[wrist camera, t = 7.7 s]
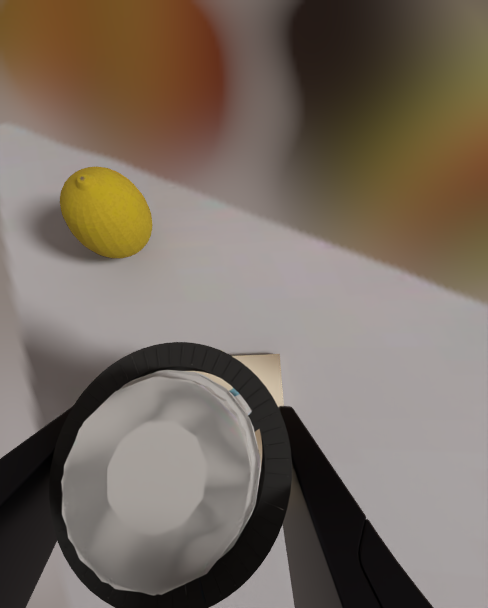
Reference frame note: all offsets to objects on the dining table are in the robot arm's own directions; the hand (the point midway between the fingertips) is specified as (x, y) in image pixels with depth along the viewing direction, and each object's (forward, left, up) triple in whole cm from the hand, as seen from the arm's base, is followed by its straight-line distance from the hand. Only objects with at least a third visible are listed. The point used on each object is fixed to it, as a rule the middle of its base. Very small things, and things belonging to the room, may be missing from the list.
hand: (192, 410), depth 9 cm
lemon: (+13, +7, -13) cm, 20 cm away
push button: (-1, 0, -7) cm, 7 cm away
